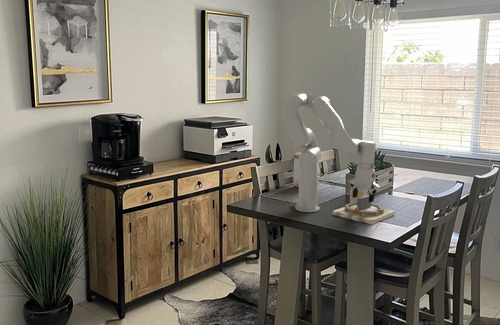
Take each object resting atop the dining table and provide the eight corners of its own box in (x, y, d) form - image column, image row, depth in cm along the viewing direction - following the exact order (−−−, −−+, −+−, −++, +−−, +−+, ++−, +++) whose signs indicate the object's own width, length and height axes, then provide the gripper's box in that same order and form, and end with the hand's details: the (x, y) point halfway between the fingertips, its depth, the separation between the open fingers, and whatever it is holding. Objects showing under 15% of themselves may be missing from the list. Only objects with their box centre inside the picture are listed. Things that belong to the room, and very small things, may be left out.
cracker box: (316, 189, 307) (317, 154, 303) (309, 190, 303) (311, 156, 299) (299, 184, 317) (300, 151, 313) (292, 186, 313) (293, 152, 309)
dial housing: (332, 214, 254) (333, 206, 254) (356, 206, 270) (356, 198, 269) (371, 224, 240) (372, 215, 239) (394, 214, 255) (395, 206, 254)
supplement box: (367, 204, 275) (368, 180, 272) (363, 206, 271) (365, 182, 268) (352, 201, 279) (354, 178, 277) (349, 203, 275) (350, 179, 273)
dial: (360, 205, 264) (361, 191, 263) (383, 210, 254) (384, 197, 253) (343, 209, 255) (344, 196, 254) (367, 216, 245) (368, 202, 243)
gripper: (385, 168, 246) (381, 202, 250) (356, 162, 259) (353, 194, 262) (376, 170, 241) (372, 204, 245) (346, 163, 254) (344, 196, 257)
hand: (362, 199), depth 254 cm, fingers open, 9 cm apart
